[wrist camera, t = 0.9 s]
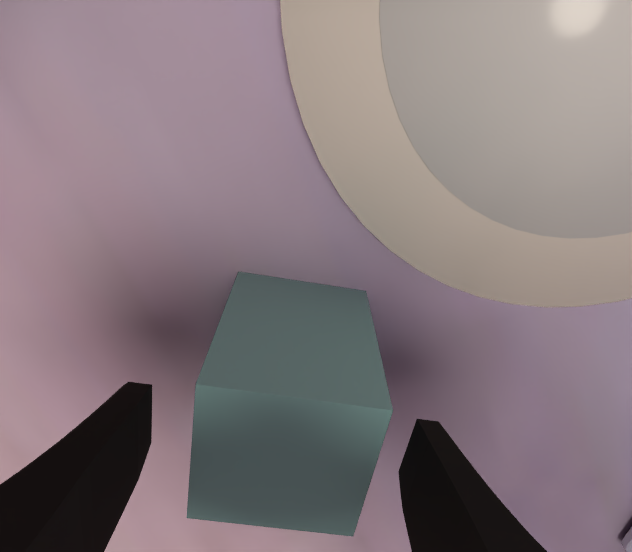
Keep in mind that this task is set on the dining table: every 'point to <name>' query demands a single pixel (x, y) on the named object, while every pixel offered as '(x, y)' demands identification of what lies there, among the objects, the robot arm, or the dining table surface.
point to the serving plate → (478, 136)
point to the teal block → (288, 408)
